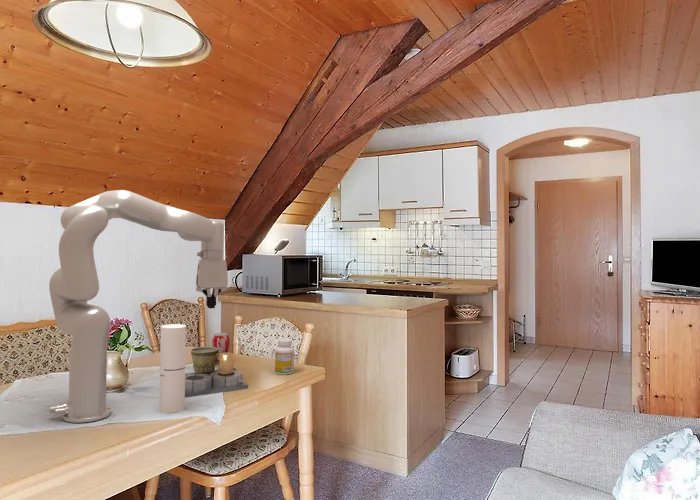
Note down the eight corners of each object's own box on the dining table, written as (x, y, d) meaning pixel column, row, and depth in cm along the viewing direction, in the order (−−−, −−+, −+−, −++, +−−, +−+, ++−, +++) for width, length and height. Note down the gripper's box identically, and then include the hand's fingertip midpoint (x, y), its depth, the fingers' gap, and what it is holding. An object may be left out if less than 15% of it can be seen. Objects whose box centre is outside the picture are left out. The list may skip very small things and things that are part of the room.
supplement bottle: (280, 369, 202) (281, 337, 202) (296, 371, 199) (297, 339, 199) (271, 374, 195) (272, 340, 195) (287, 376, 193) (288, 342, 193)
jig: (183, 397, 164) (183, 384, 164) (172, 387, 175) (173, 375, 175) (247, 388, 176) (248, 376, 176) (234, 379, 187) (234, 367, 187)
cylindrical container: (176, 414, 148) (178, 328, 148) (154, 412, 150) (155, 327, 149) (188, 406, 155) (190, 324, 155) (167, 404, 157) (169, 323, 156)
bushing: (221, 384, 175) (222, 355, 175) (217, 381, 179) (217, 353, 179) (234, 383, 178) (235, 354, 177) (229, 379, 181) (230, 351, 181)
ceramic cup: (185, 378, 187) (185, 351, 187) (199, 371, 196) (199, 345, 196) (217, 381, 184) (217, 353, 183) (230, 374, 193) (230, 348, 193)
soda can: (232, 362, 212) (233, 333, 212) (220, 365, 206) (220, 336, 206) (220, 360, 216) (221, 331, 216) (207, 363, 210) (208, 334, 210)
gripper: (194, 256, 171) (192, 310, 171) (236, 256, 179) (235, 308, 180) (187, 255, 177) (186, 307, 178) (228, 255, 186) (227, 305, 186)
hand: (211, 307), depth 179 cm, fingers closed
